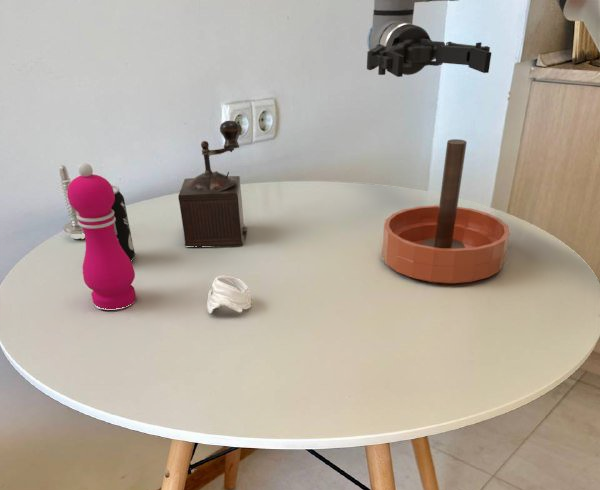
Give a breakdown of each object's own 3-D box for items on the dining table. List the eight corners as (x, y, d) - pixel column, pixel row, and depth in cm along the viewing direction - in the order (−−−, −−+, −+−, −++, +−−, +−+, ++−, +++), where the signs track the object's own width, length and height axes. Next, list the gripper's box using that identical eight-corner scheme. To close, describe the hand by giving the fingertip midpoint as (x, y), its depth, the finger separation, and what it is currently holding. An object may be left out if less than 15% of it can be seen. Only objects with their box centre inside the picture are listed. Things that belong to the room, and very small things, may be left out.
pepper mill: (80, 308, 87) (42, 168, 75) (109, 287, 93) (79, 154, 81) (121, 316, 85) (89, 173, 73) (149, 295, 90) (123, 158, 78)
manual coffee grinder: (246, 246, 105) (238, 138, 94) (184, 248, 105) (169, 140, 94) (248, 216, 117) (242, 117, 106) (192, 217, 117) (180, 119, 106)
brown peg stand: (471, 260, 97) (491, 143, 86) (436, 268, 94) (451, 149, 84) (446, 245, 102) (461, 133, 91) (411, 252, 100) (423, 139, 89)
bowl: (528, 272, 95) (536, 236, 91) (425, 297, 88) (430, 259, 85) (453, 231, 109) (458, 199, 105) (360, 251, 102) (362, 216, 99)
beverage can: (123, 250, 104) (109, 181, 97) (143, 261, 101) (129, 189, 93) (89, 261, 101) (71, 190, 94) (107, 272, 97) (91, 199, 90)
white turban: (206, 301, 90) (200, 271, 88) (250, 293, 91) (244, 263, 88) (209, 323, 84) (202, 291, 81) (256, 314, 84) (250, 282, 82)
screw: (73, 244, 107) (61, 237, 110) (97, 237, 110) (85, 230, 112) (54, 170, 99) (42, 164, 102) (81, 164, 102) (68, 159, 105)
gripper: (468, 69, 110) (518, 88, 93) (336, 75, 107) (362, 96, 90) (475, 21, 105) (528, 32, 88) (337, 26, 103) (364, 38, 86)
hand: (444, 64), depth 89 cm, fingers open, 13 cm apart
